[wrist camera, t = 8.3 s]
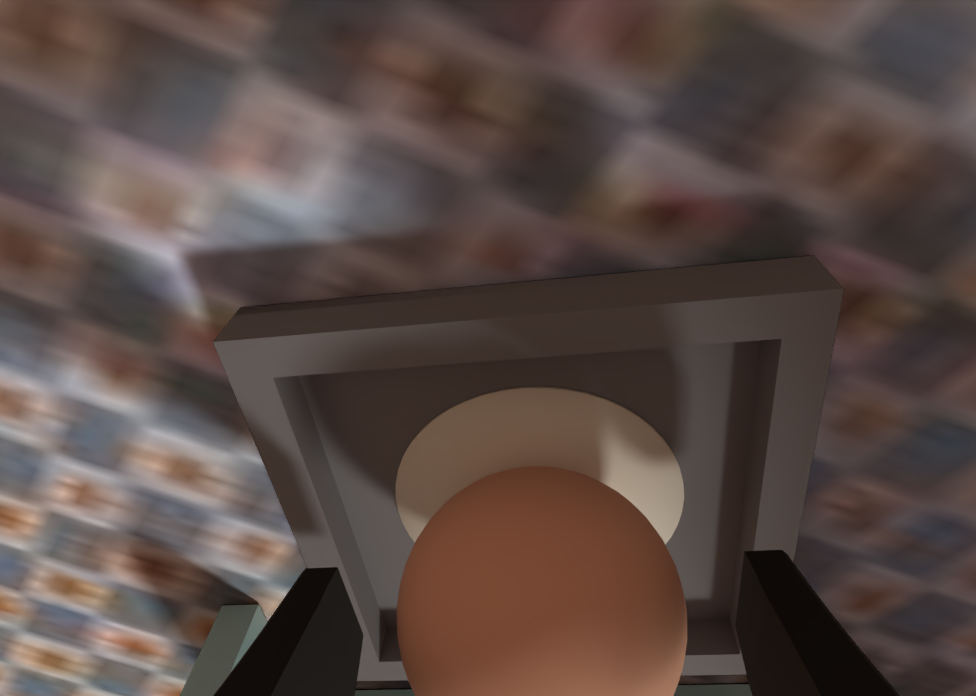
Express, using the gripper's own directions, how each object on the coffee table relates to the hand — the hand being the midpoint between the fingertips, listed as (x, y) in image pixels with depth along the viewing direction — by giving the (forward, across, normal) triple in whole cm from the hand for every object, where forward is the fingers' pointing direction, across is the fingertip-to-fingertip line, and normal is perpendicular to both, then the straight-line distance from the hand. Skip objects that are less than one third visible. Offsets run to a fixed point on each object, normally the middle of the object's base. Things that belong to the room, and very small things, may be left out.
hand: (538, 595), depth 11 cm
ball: (+2, 0, 0) cm, 2 cm away
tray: (+3, 0, 0) cm, 3 cm away
